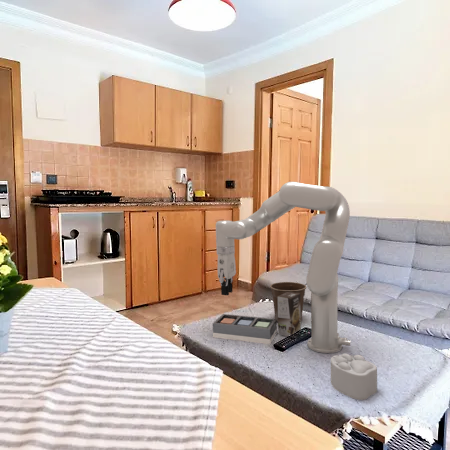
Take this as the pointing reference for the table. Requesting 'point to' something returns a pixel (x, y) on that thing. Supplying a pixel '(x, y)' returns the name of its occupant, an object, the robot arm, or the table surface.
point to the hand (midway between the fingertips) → (227, 293)
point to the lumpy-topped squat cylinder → (353, 376)
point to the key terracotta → (227, 321)
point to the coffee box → (289, 313)
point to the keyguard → (245, 330)
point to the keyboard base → (245, 338)
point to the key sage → (262, 324)
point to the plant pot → (283, 288)
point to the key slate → (244, 323)
